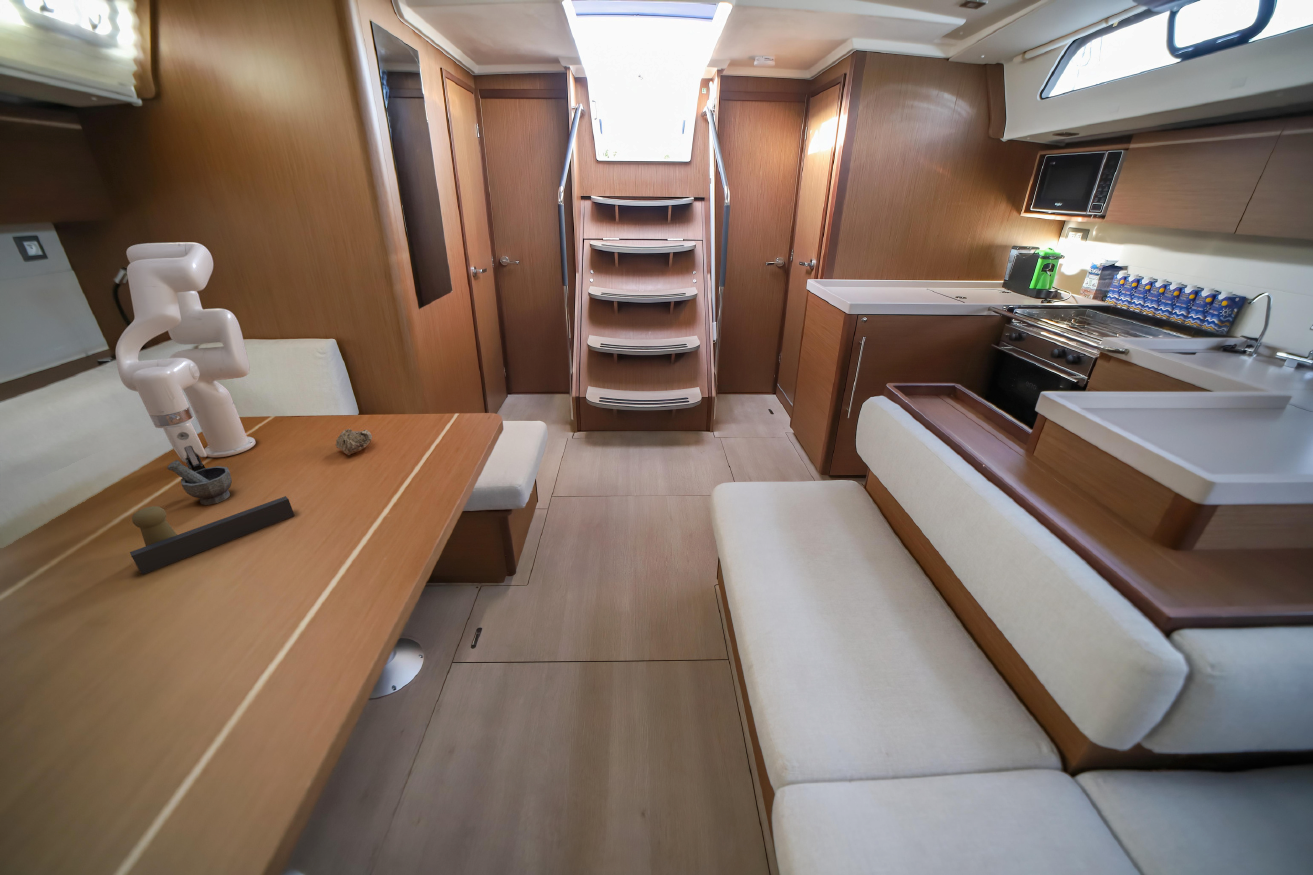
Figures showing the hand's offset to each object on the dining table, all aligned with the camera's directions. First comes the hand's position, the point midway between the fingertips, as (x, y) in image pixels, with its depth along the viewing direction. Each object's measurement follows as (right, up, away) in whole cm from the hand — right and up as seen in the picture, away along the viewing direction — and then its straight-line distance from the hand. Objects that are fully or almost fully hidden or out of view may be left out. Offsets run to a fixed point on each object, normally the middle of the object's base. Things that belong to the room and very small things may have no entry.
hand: (201, 479), depth 133 cm
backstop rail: (+22, -13, -18) cm, 31 cm away
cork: (+12, -15, -22) cm, 29 cm away
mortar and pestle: (+5, -5, -3) cm, 8 cm away
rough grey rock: (+28, +7, +23) cm, 37 cm away
